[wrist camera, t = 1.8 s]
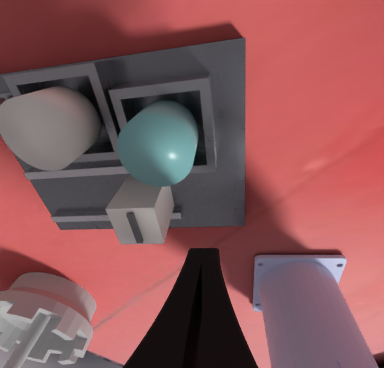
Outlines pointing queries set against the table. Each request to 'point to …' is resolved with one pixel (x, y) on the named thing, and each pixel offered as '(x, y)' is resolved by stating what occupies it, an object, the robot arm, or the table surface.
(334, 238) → the table surface
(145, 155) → the teal button
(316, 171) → the table surface
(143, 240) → the fader knob
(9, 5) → the table surface
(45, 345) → the flag stand
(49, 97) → the white button
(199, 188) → the panel
